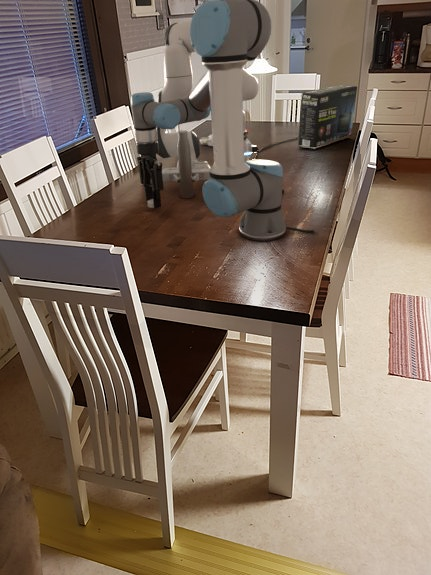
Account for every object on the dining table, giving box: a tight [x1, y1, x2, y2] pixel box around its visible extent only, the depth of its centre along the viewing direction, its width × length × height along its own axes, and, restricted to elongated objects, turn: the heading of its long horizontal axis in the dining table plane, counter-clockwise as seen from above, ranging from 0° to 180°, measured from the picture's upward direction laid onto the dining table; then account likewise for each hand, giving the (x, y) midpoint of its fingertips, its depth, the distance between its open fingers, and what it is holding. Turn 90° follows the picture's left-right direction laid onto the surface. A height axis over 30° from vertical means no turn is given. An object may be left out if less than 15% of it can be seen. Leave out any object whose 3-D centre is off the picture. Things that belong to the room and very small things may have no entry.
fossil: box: [199, 133, 213, 147], centre depth 250 cm, size 18×11×15 cm
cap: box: [146, 199, 154, 209], centre depth 169 cm, size 4×4×2 cm
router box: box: [297, 84, 358, 151], centre depth 238 cm, size 36×11×27 cm, turn 134°
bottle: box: [177, 129, 194, 199], centre depth 175 cm, size 5×5×25 cm
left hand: (186, 180), depth 177 cm, fingers closed on bottle, 5 cm apart
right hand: (154, 205), depth 169 cm, fingers closed on cap, 4 cm apart
